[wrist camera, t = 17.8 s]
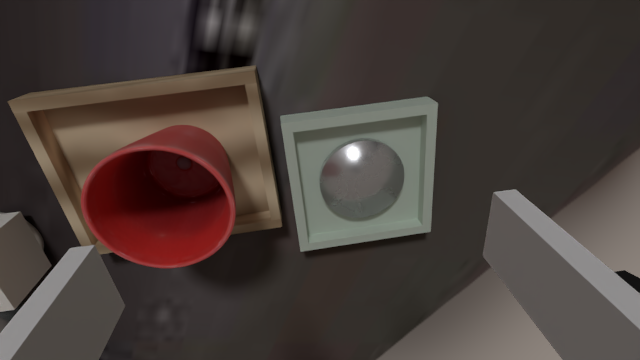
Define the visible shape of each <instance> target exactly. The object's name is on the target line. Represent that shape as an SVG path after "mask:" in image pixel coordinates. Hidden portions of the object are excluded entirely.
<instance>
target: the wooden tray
mask: <svg viewBox="0 0 640 360" xmlns="http://www.w3.org/2000/svg"><path fill="white" fill-rule="evenodd" d="M8 103H9V105H10V107H11V109H12V111H13V113H14V115H15V117H16V119H17V121H18V123H19V125H20V127H21V129H22V131H23V133H24V134H25V136H26V138H27V140H28V142H29V144H30V146H31V148H32V150H33V152H34V154H35V156H36V158H37V160H38V162H39V164H40V166H41V168H42V170H43V172H44V174H45V176H46V177H47V179H48V181H49V183H50V185H51V187H52V189H53V191H54V193H55V195H56V197H57V199H58V201H59V203H60V205H61V207H62V209H63V211H64V213H65V215H66V217H67V219H68V221H69V222H70V224H71V226H72V228H73V230H74V232H75V234H76V236H77V238H78V240H79V242H80V244H81V246H90V245H95V246H96V248H97V250H98V252H99V254H105V253H112V251H111V250H109V249H108V248H107V247H105V246H104V245H103V244H102V243H101V242H100V241H99V240H98V239H97V238H96V237H95V236H94V234H93V233H92V232H91V230H90V229H89V227H88V225H87V223H86V221H85V219H84V216H83V213H82V209H81V194H82V188H83V185H84V183H85V180H86V178H87V176H88V175H89V173H90V172H91V170H92V169H93V168H94V167H95V166H96V165H97V164H98V163H99V162H100V161H101V160H102V159H104V158H105V157H107V156H108V155H110V154H111V153H113V152H115V151H117V150H119V149H120V148H122V147H125V146H127V145H129V144H131V143H133V142H135V141H137V140H139V139H142V138H144V137H146V136H148V135H151V134H153V133H155V132H158V131H160V130H162V129H165V128H167V127H170V126H174V125H191V126H195V127H198V128H201V129H203V130H205V131H207V132H209V133H210V134H212V135H213V136H214V137H215V138H216V139H217V140H218V141H219V142H220V143H221V145H222V146H223V148H224V150H225V152H226V154H227V158H228V162H229V166H230V170H231V174H232V180H233V186H234V192H235V200H236V219H235V224H234V228H233V230H232V233H231V235H232V234H239V233H245V232H252V231H259V230H265V229H272V228H279V227H282V211H281V205H280V200H279V194H278V188H277V183H276V177H275V171H274V166H273V160H272V154H271V148H270V143H269V137H268V131H267V126H266V120H265V114H264V109H263V103H262V97H261V91H260V86H259V80H258V74H257V69H256V66H247V67H239V68H231V69H223V70H215V71H206V72H198V73H190V74H182V75H173V76H165V77H157V78H149V79H140V80H132V81H124V82H116V83H107V84H99V85H91V86H83V87H74V88H66V89H58V90H50V91H42V92H33V93H28V94H26V95H23V96H21V97H18V98H15V99H13V100H10V101H8Z"/></svg>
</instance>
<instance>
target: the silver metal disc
mask: <svg viewBox="0 0 640 360" xmlns="http://www.w3.org/2000/svg"><path fill="white" fill-rule="evenodd" d="M404 176H405V175H404V167H403V164H402V161H401V159H400V157H399V156H398V155H397V153H396V152H395V151H394V150H393V149H392V148H391V147H390V146H389V145H387V144H386V143H384V142H382V141H379V140H376V139H371V138H359V139H354V140H351V141H348V142H345V143H343V144H342V145H340V146H338V147H337V148H336V149H334V150H333V151H332V152H331V153H330V154H329V155H328V157H327V158H326V159H325V161H324V163H323V165H322V167H321V171H320V175H319V185H320V190H321V193H322V196H323V198H324V200H325V202H326V203H327V205H328V206H329V207H330V208H331V209H333V210H334V211H335V212H337V213H339V214H341V215H344V216H347V217H353V218H362V217H368V216H372V215H375V214H377V213H379V212H381V211H383V210H384V209H386V208H387V207H389V206H390V205H391V204H392V203H393V202H394V201H395V199H396V198H397V197H398V195H399V193H400V191H401V189H402V187H403V183H404Z"/></svg>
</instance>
